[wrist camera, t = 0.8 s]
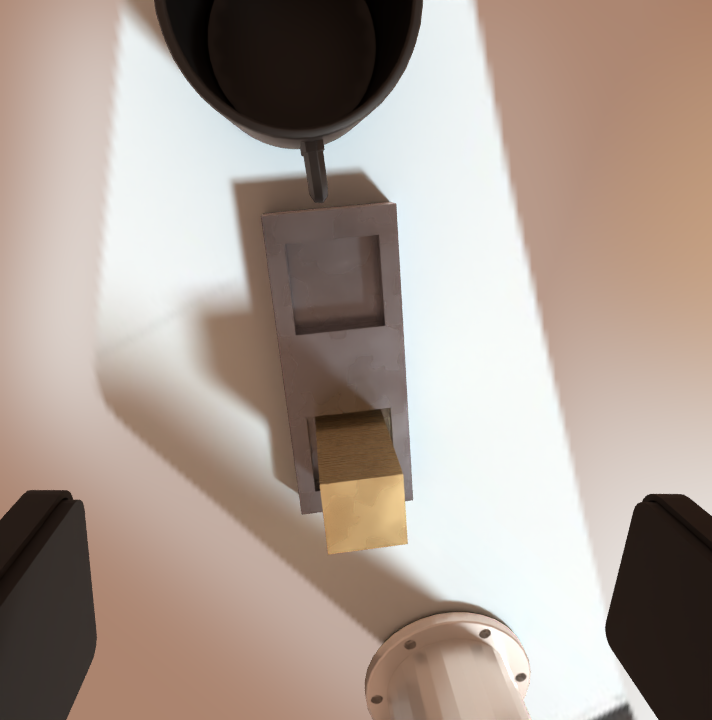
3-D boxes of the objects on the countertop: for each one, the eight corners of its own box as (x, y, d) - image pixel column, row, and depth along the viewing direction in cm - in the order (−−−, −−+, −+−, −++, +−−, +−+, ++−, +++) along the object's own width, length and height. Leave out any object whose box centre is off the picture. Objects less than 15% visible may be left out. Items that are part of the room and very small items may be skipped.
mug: (230, 211, 30) (203, 226, 21) (176, -50, 26) (115, -162, 17) (401, 185, 30) (442, 190, 22) (373, -75, 26) (410, -195, 18)
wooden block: (384, 463, 35) (407, 543, 27) (321, 471, 35) (327, 554, 27) (379, 406, 34) (403, 474, 26) (314, 414, 33) (319, 484, 26)
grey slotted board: (406, 483, 36) (412, 500, 34) (301, 496, 36) (301, 514, 34) (390, 201, 30) (396, 203, 28) (263, 213, 30) (261, 216, 28)
